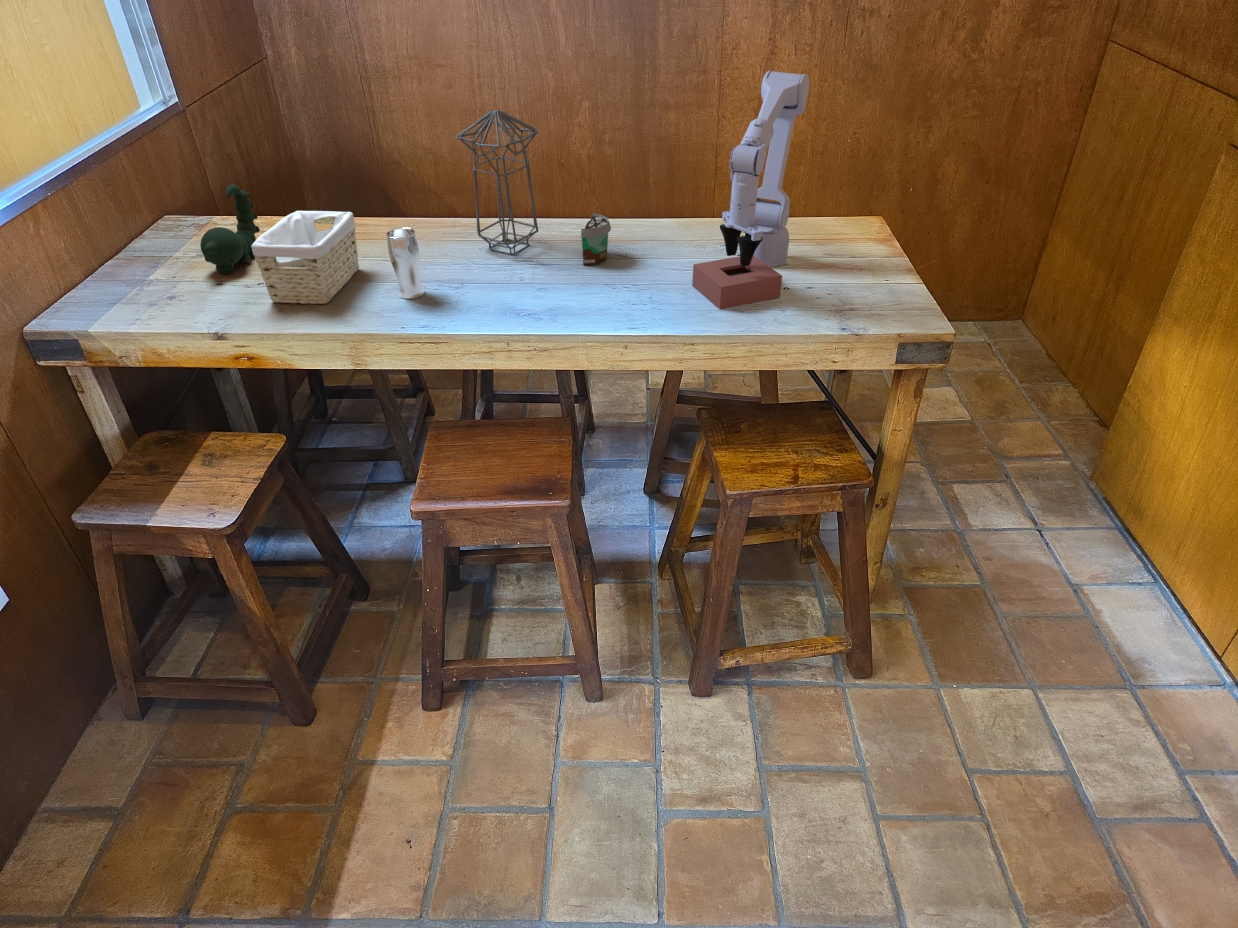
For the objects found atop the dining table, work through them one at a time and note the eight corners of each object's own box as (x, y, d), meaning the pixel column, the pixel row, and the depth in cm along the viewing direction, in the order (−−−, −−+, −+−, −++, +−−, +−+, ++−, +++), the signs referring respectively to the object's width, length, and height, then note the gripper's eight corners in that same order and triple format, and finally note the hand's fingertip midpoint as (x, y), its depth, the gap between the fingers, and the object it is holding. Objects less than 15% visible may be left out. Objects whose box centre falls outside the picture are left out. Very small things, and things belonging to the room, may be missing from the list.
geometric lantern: (549, 244, 212) (540, 107, 190) (513, 265, 202) (499, 123, 180) (504, 232, 219) (490, 98, 197) (466, 252, 209) (448, 113, 187)
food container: (605, 269, 199) (605, 231, 193) (582, 268, 200) (580, 229, 194) (615, 251, 208) (615, 214, 202) (593, 249, 209) (592, 212, 203)
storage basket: (306, 265, 202) (292, 208, 193) (367, 267, 201) (355, 210, 192) (264, 306, 183) (246, 245, 174) (332, 308, 182) (317, 247, 173)
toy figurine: (241, 252, 213) (195, 282, 192) (223, 179, 203) (171, 203, 182) (275, 252, 213) (232, 283, 192) (258, 180, 203) (211, 204, 182)
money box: (749, 275, 195) (751, 254, 192) (779, 297, 185) (782, 275, 182) (692, 285, 191) (693, 264, 187) (719, 309, 180) (721, 287, 177)
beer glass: (400, 302, 184) (389, 240, 175) (393, 291, 189) (381, 230, 180) (429, 296, 187) (419, 235, 177) (421, 285, 191) (411, 225, 182)
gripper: (712, 194, 179) (708, 251, 187) (743, 215, 168) (738, 274, 177) (739, 190, 181) (734, 247, 189) (772, 210, 170) (765, 269, 179)
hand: (738, 260), depth 183 cm, fingers open, 6 cm apart
